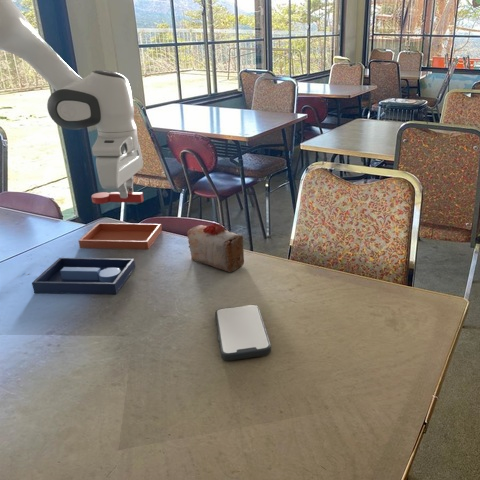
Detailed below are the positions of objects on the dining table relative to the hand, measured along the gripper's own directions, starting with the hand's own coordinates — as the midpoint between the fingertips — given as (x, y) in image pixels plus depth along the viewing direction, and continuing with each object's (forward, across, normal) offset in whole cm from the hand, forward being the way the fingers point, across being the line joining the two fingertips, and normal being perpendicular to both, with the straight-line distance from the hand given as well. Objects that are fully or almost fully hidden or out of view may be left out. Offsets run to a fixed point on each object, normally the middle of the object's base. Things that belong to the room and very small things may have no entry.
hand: (127, 195), depth 122 cm
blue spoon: (+12, +22, -2) cm, 25 cm away
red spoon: (+2, 0, -2) cm, 3 cm away
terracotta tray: (+13, 0, -3) cm, 13 cm away
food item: (+13, +12, +24) cm, 30 cm away
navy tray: (+13, +22, -3) cm, 25 cm away
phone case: (+13, +42, +34) cm, 56 cm away
